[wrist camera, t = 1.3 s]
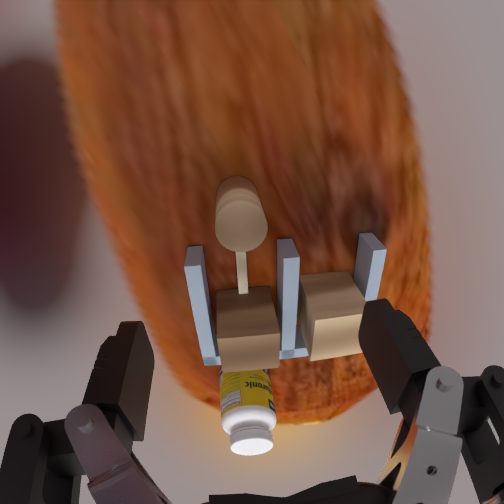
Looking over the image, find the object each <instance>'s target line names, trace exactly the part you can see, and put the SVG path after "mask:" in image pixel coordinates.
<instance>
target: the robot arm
mask: <svg viewBox="0 0 504 504" xmlns="http://www.w3.org/2000/svg"><path fill="white" fill-rule="evenodd" d="M358 339H359V345H360V347H361V350H362V352H363V354H364V356H365V358H366V360H367V363H368V365H369V367H370V369H371V371H372V374H373V376H374V378H375V380H376V382H377V385H378V387H379V389H380V391H381V394H382V396H383V398H384V400H385V403H386V405H387V408H388V410H389V412H390V414H394V413H397V412H402V415H403V418H402V420H401V423H400V426H399V429H398V432H397V435H396V438H395V440H394V443H393V446H392V449H391V451H390V454H389V457H388V459H387V462H386V464H385V466H384V467H383V469H382V471H381V473H380V475H379V476H378V478H377V480H376V482H375V484H374V483H367V482H357V479H356V476H355V475H354V476H350V477H346V478H342V479H338V480H333V481H329V482H324V483H320V484H318V485H316V486H313V487H311V488H309V489H306V490H304V491H301V492H299V493H296V494H294V495H291V496H288V497H282V498H281V497H271V496H262V495H254V494H247V493H244V494H226V495H209V502H206V503H202V504H448V501H449V497H450V494H451V490H452V487H453V483H454V479H455V475H456V471H457V466H458V463H459V457H460V453H462V455H463V458H464V460H465V463H466V466H467V468H468V471H469V474H470V476H471V479H472V482H473V484H474V488H475V490H476V493H477V496H478V499H479V502H480V504H504V368H502V367H500V366H495V365H493V366H489V367H487V368H485V370H484V371H483V373H482V374H481V376H475V377H461V376H460V374H459V373H458V372H457V371H455V370H454V369H452V368H450V367H446V366H441V364H440V363H439V361H438V360H437V358H436V357H435V355H434V353H433V352H432V350H431V349H430V347H429V346H428V344H427V343H426V341H425V340H424V338H423V337H422V336H421V333H420V332H419V330H418V329H416V326H415V325H414V323H413V322H412V320H411V319H410V317H408V316H407V315H406V314H404V313H403V312H402V311H400V310H394V308H393V307H392V305H391V304H390V302H389V301H388V300H387V299H385V298H384V299H378V300H371V301H367V302H366V303H365V305H364V310H363V314H362V319H361V323H360V327H359V332H358ZM153 370H154V353H153V350H152V347H151V344H150V341H149V338H148V335H147V332H146V330H145V327H144V324H143V322H142V321H125V322H121V323H120V325H119V328H118V331H117V334H116V336H109V337H108V338H107V339H106V340H105V342H104V343H103V344H102V345H101V347H100V349H99V352H98V355H97V360H96V361H95V364H94V369H93V370H92V373H91V376H90V379H89V382H88V385H87V389H86V392H85V395H84V399H83V402H82V404H81V405H79V406H77V407H75V408H73V409H72V410H71V411H70V412H69V413H68V415H67V416H66V418H65V419H61V420H55V421H50V422H44V423H43V422H42V421H41V419H40V418H39V417H38V416H36V415H34V414H24V415H22V416H20V417H18V418H17V419H16V420H15V421H14V423H13V425H12V427H11V430H10V434H9V437H8V441H7V444H6V448H5V452H4V456H3V460H2V464H1V468H0V504H79V494H80V484H81V475H87V477H88V479H89V483H88V484H87V485H88V489H89V491H90V493H91V495H92V497H93V499H94V500H95V502H96V504H172V502H171V501H170V500H169V499H168V498H167V497H166V496H165V495H164V493H163V492H162V491H161V490H160V489H159V487H158V486H157V485H156V484H155V483H154V481H153V480H152V478H151V477H150V476H149V474H148V473H147V471H146V470H145V469H144V467H143V466H142V465H141V463H140V462H139V460H138V459H137V458H136V456H135V454H134V453H133V451H132V445H133V441H143V439H144V431H145V424H146V415H147V409H148V402H149V395H150V389H151V383H152V376H153ZM489 418H490V420H491V422H492V424H493V426H494V428H495V430H496V432H497V434H498V436H499V440H500V444H499V445H498V442H497V440H496V438H495V436H494V434H493V432H492V429H491V427H490V425H489V423H488V421H487V420H488V419H489Z"/></svg>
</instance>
